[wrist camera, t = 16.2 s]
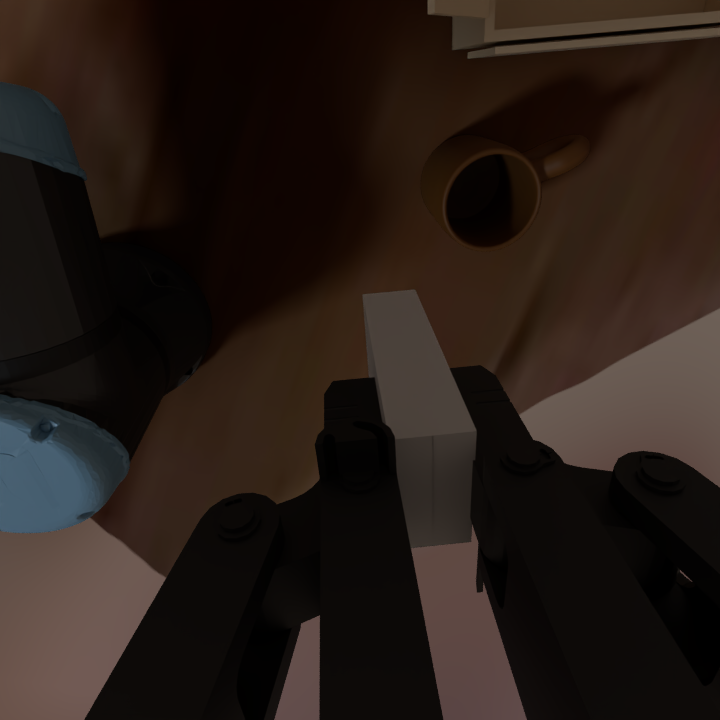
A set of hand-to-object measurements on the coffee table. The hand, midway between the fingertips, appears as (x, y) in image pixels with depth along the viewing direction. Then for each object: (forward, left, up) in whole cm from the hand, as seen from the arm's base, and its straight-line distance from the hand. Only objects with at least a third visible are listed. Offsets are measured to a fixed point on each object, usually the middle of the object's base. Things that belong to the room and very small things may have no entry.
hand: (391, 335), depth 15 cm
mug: (+12, -1, -33) cm, 35 cm away
